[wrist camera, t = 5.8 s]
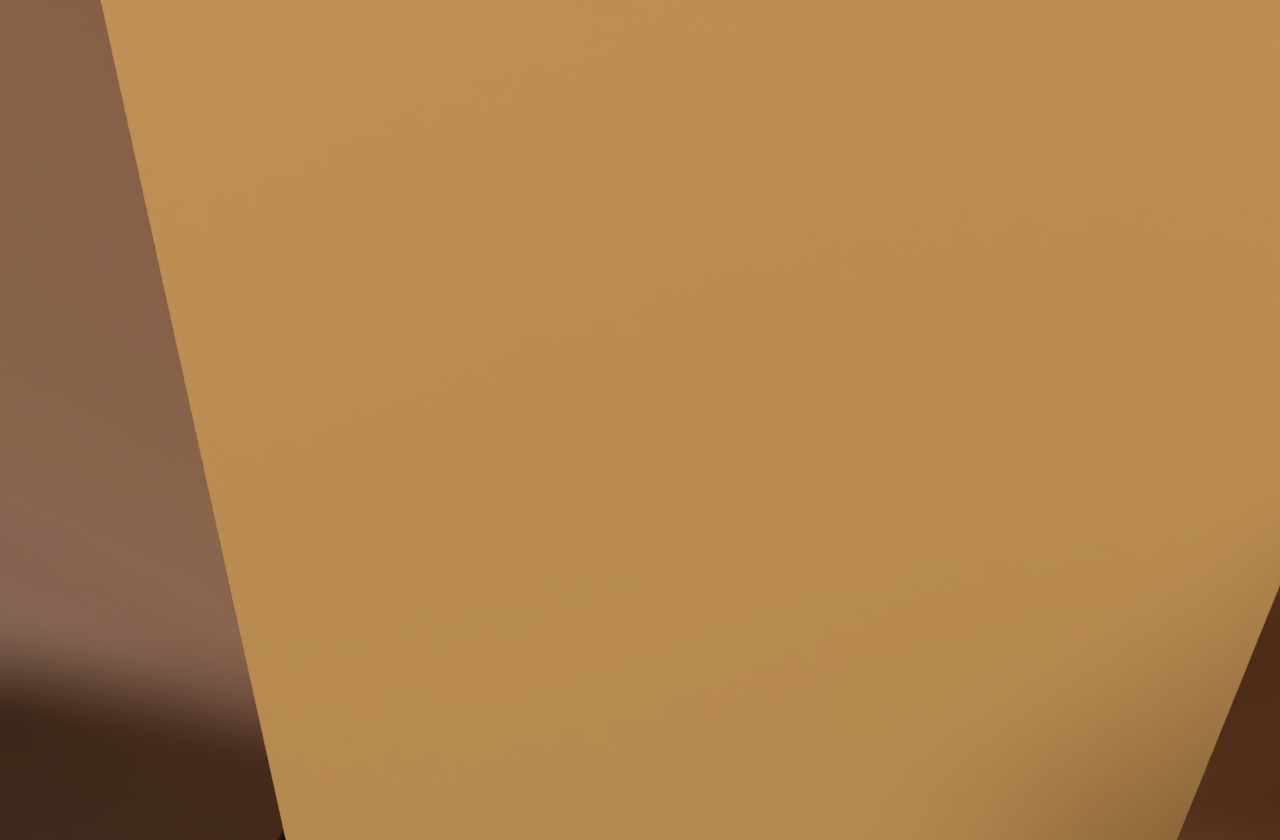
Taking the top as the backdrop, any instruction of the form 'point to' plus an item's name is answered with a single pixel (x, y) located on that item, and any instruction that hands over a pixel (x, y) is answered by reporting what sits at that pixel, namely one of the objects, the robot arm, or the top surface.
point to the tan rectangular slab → (727, 403)
